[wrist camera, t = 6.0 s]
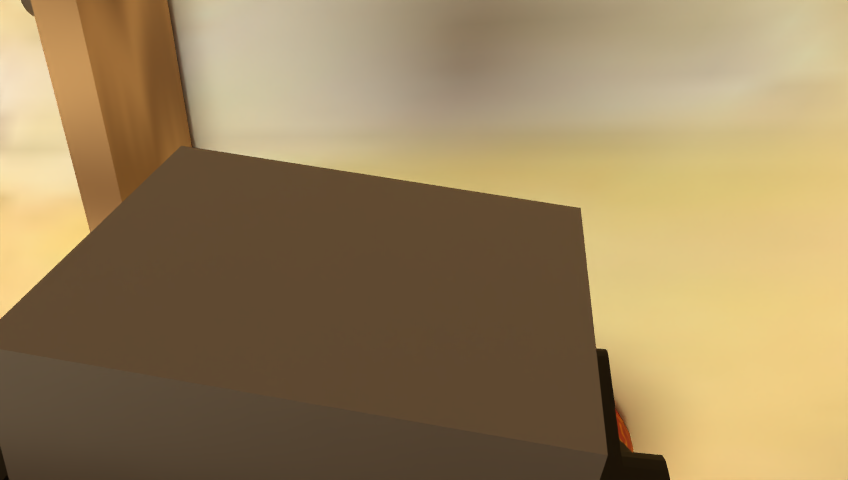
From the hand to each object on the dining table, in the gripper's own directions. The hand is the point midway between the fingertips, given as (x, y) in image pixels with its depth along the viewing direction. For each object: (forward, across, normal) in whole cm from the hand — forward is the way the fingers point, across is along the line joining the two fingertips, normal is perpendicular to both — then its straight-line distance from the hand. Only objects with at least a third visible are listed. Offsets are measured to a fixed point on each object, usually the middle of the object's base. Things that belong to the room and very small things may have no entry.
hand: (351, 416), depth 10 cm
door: (+15, +10, +2) cm, 18 cm away
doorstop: (+1, 0, 0) cm, 1 cm away
